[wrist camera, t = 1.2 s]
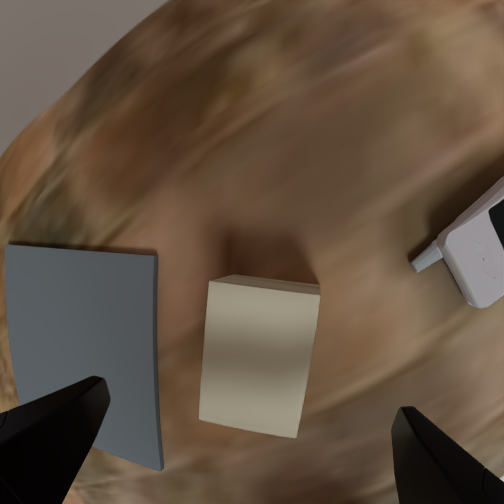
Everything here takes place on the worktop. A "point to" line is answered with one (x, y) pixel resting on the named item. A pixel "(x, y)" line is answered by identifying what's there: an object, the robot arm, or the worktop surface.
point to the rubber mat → (89, 337)
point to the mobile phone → (473, 249)
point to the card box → (257, 353)
